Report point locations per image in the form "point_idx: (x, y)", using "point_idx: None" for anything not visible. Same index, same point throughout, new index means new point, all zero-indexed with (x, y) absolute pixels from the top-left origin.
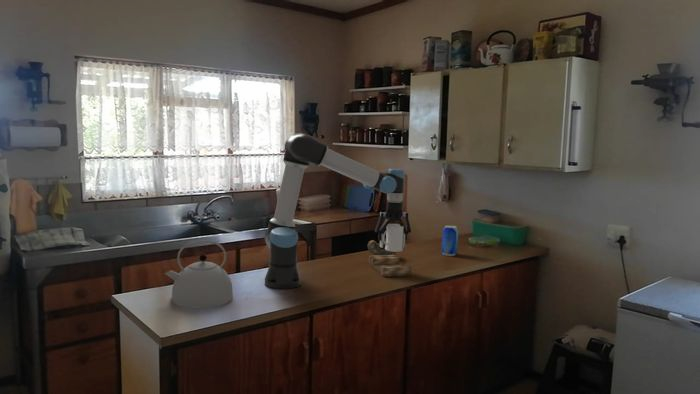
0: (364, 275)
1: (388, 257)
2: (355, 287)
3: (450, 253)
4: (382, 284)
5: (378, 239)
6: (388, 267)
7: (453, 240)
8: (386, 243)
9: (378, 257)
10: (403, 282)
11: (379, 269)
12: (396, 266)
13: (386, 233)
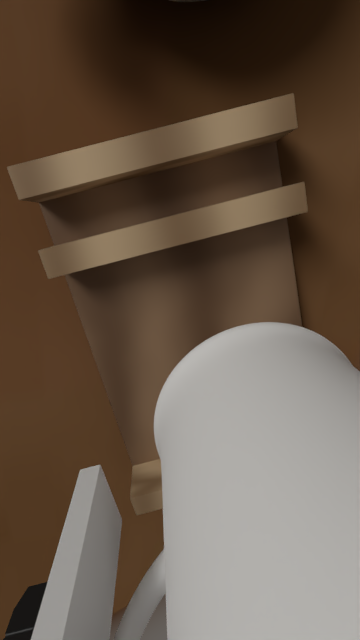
0: (29, 468)
1: (204, 211)
2: (4, 636)
3: None
4: (133, 579)
5: (23, 602)
6: None
7: None
8: (163, 590)
9: (107, 178)
10: None
11: (120, 393)
12: (251, 297)
13: None
